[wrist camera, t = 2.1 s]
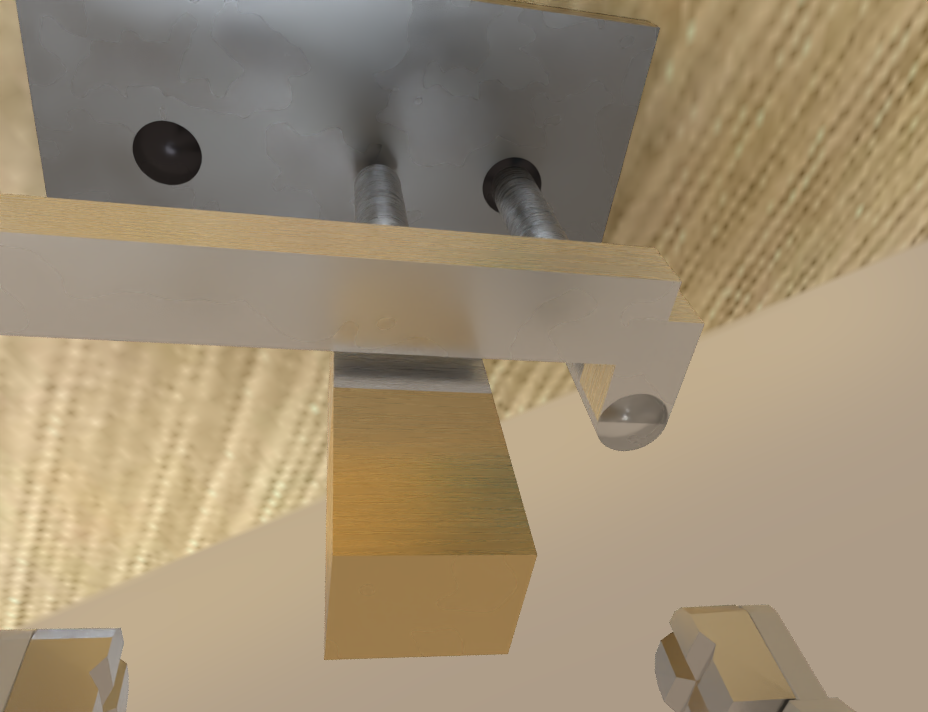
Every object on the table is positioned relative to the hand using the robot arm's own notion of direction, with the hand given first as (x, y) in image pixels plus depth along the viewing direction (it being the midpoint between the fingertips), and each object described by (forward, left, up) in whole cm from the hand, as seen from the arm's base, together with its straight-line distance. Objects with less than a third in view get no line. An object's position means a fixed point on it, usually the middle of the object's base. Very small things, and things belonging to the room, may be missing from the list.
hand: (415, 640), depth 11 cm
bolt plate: (+1, 0, -20) cm, 20 cm away
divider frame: (+2, -1, -19) cm, 19 cm away
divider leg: (0, 0, -18) cm, 18 cm away
